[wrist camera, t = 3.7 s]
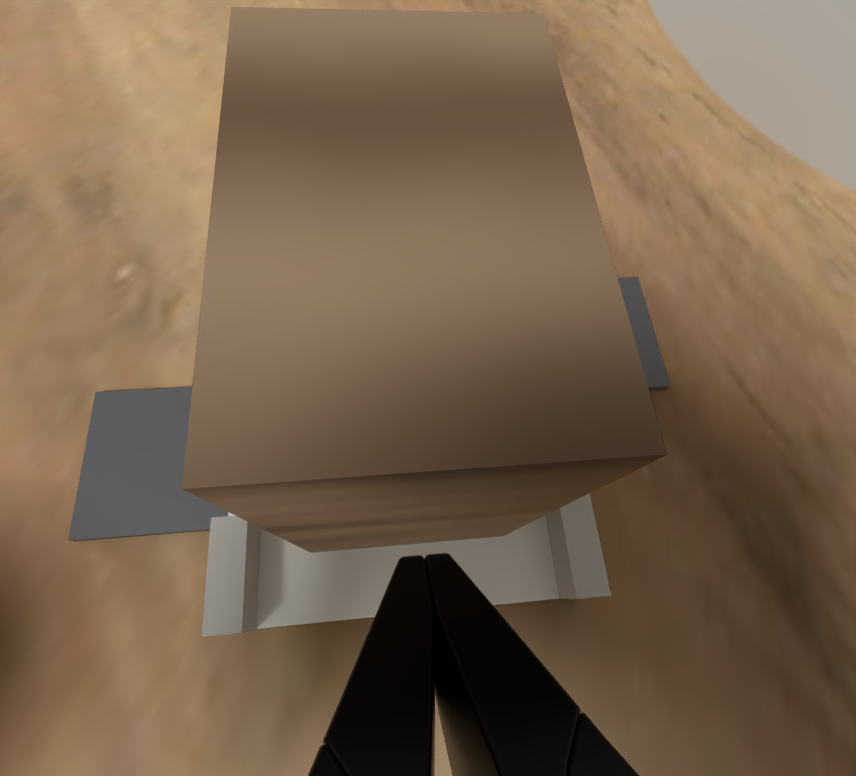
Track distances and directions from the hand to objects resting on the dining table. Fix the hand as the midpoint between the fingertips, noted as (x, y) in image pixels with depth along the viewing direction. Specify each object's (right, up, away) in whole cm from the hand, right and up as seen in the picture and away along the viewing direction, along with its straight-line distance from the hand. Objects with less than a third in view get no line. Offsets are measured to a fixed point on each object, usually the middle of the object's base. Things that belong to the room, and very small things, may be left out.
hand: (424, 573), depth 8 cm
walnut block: (-1, +2, +9) cm, 9 cm away
